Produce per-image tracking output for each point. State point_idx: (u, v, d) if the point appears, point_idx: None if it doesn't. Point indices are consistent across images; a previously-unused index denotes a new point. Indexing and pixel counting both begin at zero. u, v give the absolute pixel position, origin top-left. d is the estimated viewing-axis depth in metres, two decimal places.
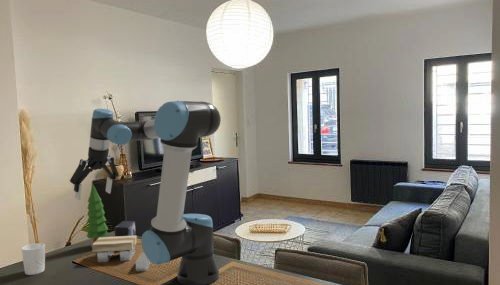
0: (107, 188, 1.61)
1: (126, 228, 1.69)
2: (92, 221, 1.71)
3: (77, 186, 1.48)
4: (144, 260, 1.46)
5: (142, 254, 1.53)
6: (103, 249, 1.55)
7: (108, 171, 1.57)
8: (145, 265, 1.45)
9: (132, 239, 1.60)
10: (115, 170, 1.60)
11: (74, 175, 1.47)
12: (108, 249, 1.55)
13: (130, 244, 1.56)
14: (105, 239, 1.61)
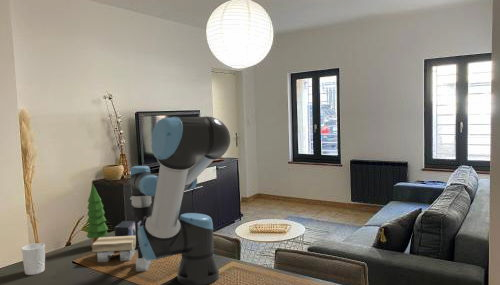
0: None
1: (126, 228, 1.69)
2: (92, 221, 1.71)
3: None
4: None
5: None
6: (103, 249, 1.55)
7: None
8: (145, 264, 1.45)
9: (132, 239, 1.60)
10: None
11: (138, 241, 1.41)
12: (108, 249, 1.55)
13: (130, 244, 1.56)
14: (105, 239, 1.61)
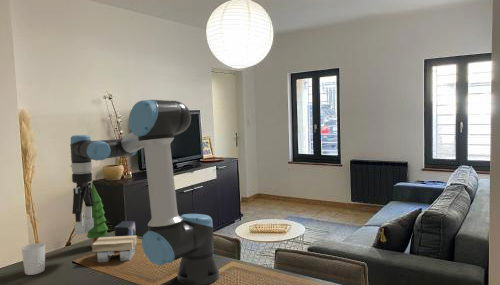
0: (87, 217, 1.62)
1: (126, 228, 1.69)
2: None
3: (79, 215, 1.51)
4: (83, 223, 1.53)
5: (83, 219, 1.60)
6: (103, 249, 1.55)
7: (89, 197, 1.61)
8: (83, 228, 1.53)
9: (132, 239, 1.60)
10: (91, 196, 1.64)
11: (75, 205, 1.49)
12: (108, 249, 1.55)
13: (130, 244, 1.56)
14: (105, 239, 1.61)
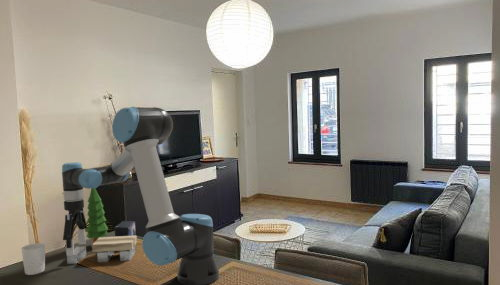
0: (81, 240, 1.65)
1: (126, 228, 1.69)
2: (92, 221, 1.71)
3: (70, 241, 1.51)
4: (75, 253, 1.55)
5: (76, 248, 1.62)
6: (103, 249, 1.55)
7: (82, 221, 1.63)
8: (76, 258, 1.54)
9: (132, 239, 1.60)
10: (84, 219, 1.67)
11: (66, 231, 1.49)
12: (108, 249, 1.55)
13: (130, 244, 1.56)
14: (105, 239, 1.61)
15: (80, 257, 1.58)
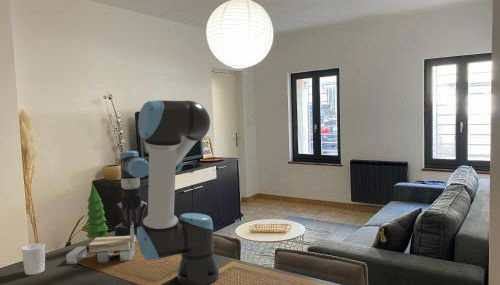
0: None
1: (126, 228, 1.69)
2: (92, 221, 1.71)
3: None
4: (75, 253, 1.55)
5: (76, 248, 1.62)
6: (100, 249, 1.55)
7: None
8: (75, 258, 1.54)
9: (129, 239, 1.60)
10: None
11: (142, 218, 1.61)
12: (105, 249, 1.55)
13: (127, 244, 1.56)
14: (102, 240, 1.61)
15: (80, 257, 1.58)
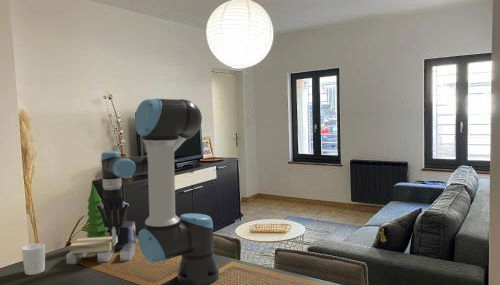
0: None
1: (126, 228, 1.69)
2: (92, 221, 1.71)
3: None
4: (74, 254, 1.55)
5: None
6: (81, 250, 1.54)
7: None
8: (75, 258, 1.54)
9: (110, 240, 1.60)
10: None
11: (124, 219, 1.60)
12: (86, 250, 1.55)
13: (108, 245, 1.55)
14: (83, 241, 1.60)
15: (80, 257, 1.58)
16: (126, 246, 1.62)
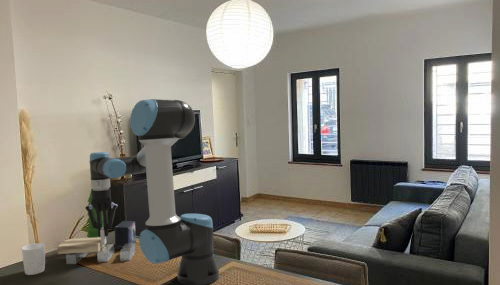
0: None
1: (126, 228, 1.69)
2: None
3: None
4: (74, 253, 1.55)
5: None
6: (69, 251, 1.54)
7: None
8: (75, 258, 1.54)
9: (99, 241, 1.59)
10: None
11: (112, 220, 1.60)
12: (74, 251, 1.54)
13: (96, 246, 1.55)
14: (72, 241, 1.59)
15: (79, 257, 1.58)
16: (126, 246, 1.62)
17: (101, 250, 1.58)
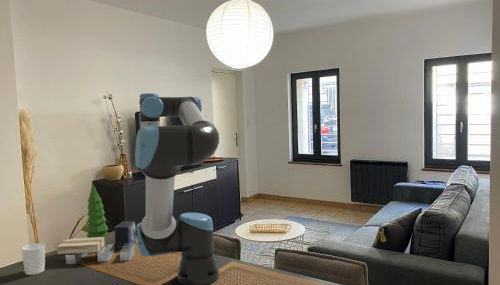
0: None
1: (126, 228, 1.69)
2: (92, 221, 1.71)
3: None
4: (74, 254, 1.55)
5: None
6: (68, 251, 1.54)
7: None
8: (74, 258, 1.54)
9: (99, 241, 1.59)
10: None
11: None
12: (73, 251, 1.54)
13: (96, 246, 1.55)
14: (72, 241, 1.59)
15: (79, 257, 1.58)
16: (126, 246, 1.62)
17: (101, 250, 1.58)
